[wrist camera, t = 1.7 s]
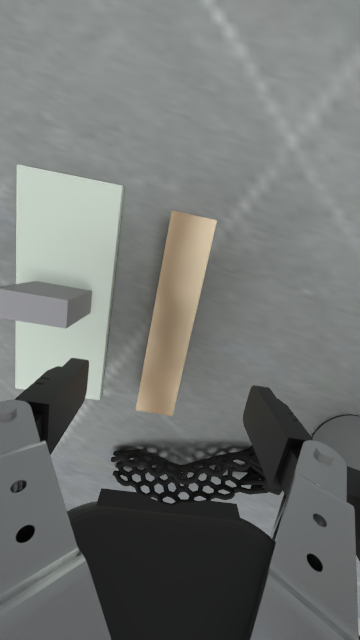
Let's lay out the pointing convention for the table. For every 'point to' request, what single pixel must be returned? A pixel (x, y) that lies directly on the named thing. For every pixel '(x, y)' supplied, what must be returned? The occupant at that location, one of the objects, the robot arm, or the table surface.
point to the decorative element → (176, 476)
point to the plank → (174, 310)
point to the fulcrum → (63, 273)
